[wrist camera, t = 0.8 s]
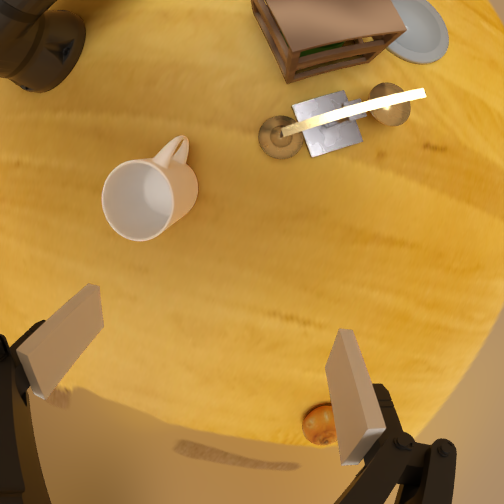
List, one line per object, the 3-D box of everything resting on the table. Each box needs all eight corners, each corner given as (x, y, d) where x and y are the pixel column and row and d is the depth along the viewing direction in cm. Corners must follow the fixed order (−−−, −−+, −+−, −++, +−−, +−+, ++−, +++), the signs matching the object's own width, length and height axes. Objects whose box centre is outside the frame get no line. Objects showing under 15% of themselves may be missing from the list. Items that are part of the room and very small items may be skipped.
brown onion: (313, 401, 47) (311, 444, 42) (354, 403, 47) (353, 443, 42) (298, 408, 53) (296, 445, 48) (335, 410, 54) (333, 446, 49)
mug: (224, 153, 37) (206, 154, 27) (181, 229, 41) (152, 256, 30) (169, 123, 36) (134, 116, 26) (132, 199, 40) (91, 216, 30)
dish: (350, -6, 27) (352, -10, 26) (421, -11, 25) (424, -14, 24) (389, 69, 31) (393, 67, 30) (457, 60, 29) (461, 58, 27)
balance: (251, 120, 35) (236, 100, 20) (377, 83, 32) (432, 51, 17) (271, 170, 37) (269, 183, 22) (395, 131, 34) (458, 126, 19)
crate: (253, 13, 30) (243, -38, 17) (333, -6, 28) (352, -56, 15) (286, 83, 33) (292, 51, 21) (368, 62, 31) (407, 30, 19)
